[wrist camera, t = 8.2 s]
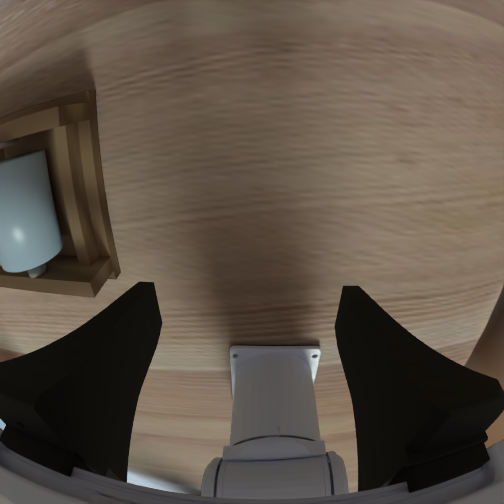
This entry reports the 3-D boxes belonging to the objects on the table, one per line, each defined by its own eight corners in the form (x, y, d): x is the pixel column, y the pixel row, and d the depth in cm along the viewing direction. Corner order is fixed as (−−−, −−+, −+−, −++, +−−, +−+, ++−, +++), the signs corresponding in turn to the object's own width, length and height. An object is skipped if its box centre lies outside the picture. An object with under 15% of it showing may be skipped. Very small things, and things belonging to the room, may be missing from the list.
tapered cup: (76, 237, 20) (35, 275, 15) (29, 236, 20) (-11, 269, 16) (59, 145, 17) (7, 165, 12) (12, 155, 17) (-37, 177, 12)
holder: (120, 272, 23) (97, 306, 19) (26, 267, 23) (-1, 294, 19) (95, 90, 16) (57, 92, 12) (-5, 121, 16) (-42, 132, 12)
